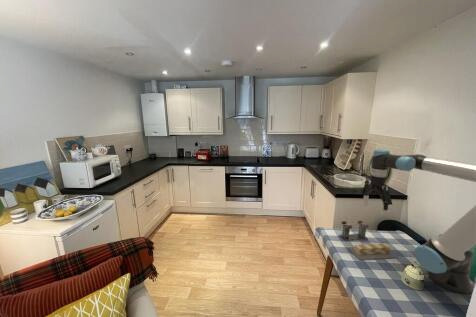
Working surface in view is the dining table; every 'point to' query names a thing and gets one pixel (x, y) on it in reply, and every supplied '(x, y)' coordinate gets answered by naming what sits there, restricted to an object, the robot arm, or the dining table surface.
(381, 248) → the bread loaf
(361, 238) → the stand
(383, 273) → the dining table surface
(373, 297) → the dining table surface
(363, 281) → the dining table surface
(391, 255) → the mat
